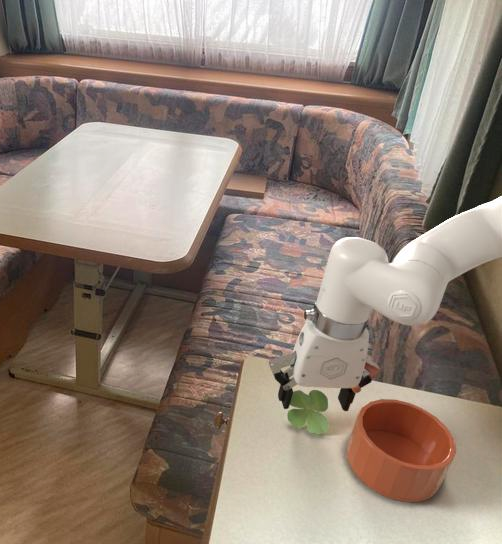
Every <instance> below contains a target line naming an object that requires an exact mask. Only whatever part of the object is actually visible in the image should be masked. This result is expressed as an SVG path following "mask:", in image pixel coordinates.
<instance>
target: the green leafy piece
mask: <svg viewBox="0 0 502 544" xmlns="http://www.w3.org/2000/svg"><path fill="white" fill-rule="evenodd" d="M290 406H291V407H293V408H291V409H289V410H288V411H287V420H288V423H290V424H291V426H292V427H293V428H295V429H302V428H304V427H305V426H306V429H307V431H308V433H310V434H316V435H321V434H324V433H326V432H327V431H328V430H329V427H330V425H329V420H328V419H327V417H326V416H325V415H324V414H323V412H324V413H325V412H326V411H327V410H328V408H329V398H328V397H327V395H326V394H325V393H324V392H322V391H321V390H318V389H312V390H310V391H309V392H308V394H307V393H305V392H304V391H302V390H300V389H298V390H297V389H296V390H293V395H292V398H291V402H290Z"/></svg>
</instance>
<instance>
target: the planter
mask: <svg viewBox="0 0 502 544" xmlns="http://www.w3.org/2000/svg"><path fill="white" fill-rule="evenodd" d="M456 453H457V446H456V442H455V438H454V436H453V434H452V433H451V431H450V430H449V428H448V427H447V426H446V425H445V424H444V423H443V422H442V421H441V420H440V418H438V417H437V416H435V415H434V414H432V413H431V412H429V411H427V410H426V409H425V408H422V407H420V406H418V405H415V404H413V403H411V402H407V401H403V400H399V399H390V398H389V399H387V398H379V399H375V400H372V401H369V402H368V403H366V404H365V405H363V406H362V407H361V408H360V410H359V412H358V414H357V416H356V419H355V422H354V425H353V428H352V431H351V433H350V436H349V440H348V442H347V447H346V459H347V462H348V464H349V466H350V468H351V470H352V471H353V473H354V474H355V475H356V477H357V478H358V479H359V480H360V481H361V482H362V483H363V484H364V485H366V486H367V487H368V488H370V489H371V490H372V491H374V492H375V493H378V494H380V495H381V496H384V497H386V498H388V499H391V500H395V501H399V502H402V503H403V502H404V503H418V502H423V501H426V500H428V499H430V498H431V497H433V496H435V494H436V493H437V492H438V490H439V489H440V488H441V485H442V484H443V481H444V479H445V477H446V475H447V474H448V471H449V469H450V467H451V466H452V463H453V461H454V459H455V456H456Z"/></svg>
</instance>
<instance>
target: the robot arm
mask: <svg viewBox="0 0 502 544" xmlns="http://www.w3.org/2000/svg"><path fill="white" fill-rule="evenodd" d="M501 258H502V195H501V196H499V197H498V198H496V199H493V200H492V201H489V202H486V203H482V204H481V205H478V206H476V207H473V208H471V209H469V210H466V211H463V212H461V213H460V214H457V215H454V216H453V217H451V218H449V219H447V220H445V221H444V222H442V223H440V224H439V225H436V226H435V227H434V228H432V229H430V230H428V231H427V232H424V234H422V235H420V236H419V237H417V238H416V239H414V240H412V241H411V242H409V243H408V244H406V245H405V246H404V247H403V248H402V249H400V251H398V252H397V254H396V255H395V257H394V258H393V259H392V261H391V262H389V259H388V254H387V252H386V250H385V249H384V248H383V247H382V246H381V245H380V244H378V243H376V242H375V241H372V240H369V239H366V238H361V237H355V236H354V237H353V236H352V237H343V238H341V239H339V240H337V241H336V242H334V244H333V245H332V247H331V249H330V252H329V255H328V260H327V263H326V265H325V270H324V273H323V277H322V280H321V284H320V288H319V291H318V295H317V298H316V302H315V303H314V304H313V307H312V309H309V310H304V313H303V319H304V320H305V322H304V325H303V326H302V328H301V330H300V332H299V335H298V337H297V339H296V341H295V344H294V347H293V350H292V352H290V353H286V354H284V355H281V356H278V357H274V358H271V359H270V360H268V365H269V367H270V370H271V372H272V375H273V378H274V380H275V381H276V382H277V383H278V384H279V387H278V388H279V389H278V393H277V398H278V401H279V402H281V404H282V407H283V409H284V410H288V409H289V408H290V406H291V405H290V402H291V398H292V395H293V392H294V389H293V388H294V387H296V386H297V385H298V386H301V387H306V388H321V389H322V388H327V389H339V392H338V396H337V400H338V402H339V404H340V407H341V410H342V411H344V412H349V411H350V410H349V409H350V407H351V405H352V404H353V403H354V400H355V398H356V394H358V393H360V392H361V391H362V388H365V387H366V386H368V385H370V384H371V383H372V381H373V379H375V378H376V377H377V376H378V375H379V374H381V372H382V369H381V367H380V365H379V364H378V363H377V362H375V361H373V360H371V359H369V358H368V352H369V345H370V332H369V330H368V329H367V325H368V322H369V319H370V317H371V314H372V311H376V312H377V313H378V314H380V315H382V316H384V317H385V318H387V319H389V320H391V321H393V322H395V323H398V324H400V325H404V326H409V327H416V326H422V325H424V324H426V323H429V322H430V321H431V320H432V319H433V318H434V317H435V316H436V314H437V312H438V311H439V308H440V305H441V303H442V301H443V297H444V294H445V292H446V289H447V286H448V284H449V282H451V281H452V280H454V279H456V278H457V277H460V276H461V275H463V274H465V273H466V272H468V271H471V270H473V269H475V268H477V267H479V266H481V265H484V264H486V263H488V262H490V261H494V260H497V259H501ZM289 366H290V367H289ZM286 367H289V368H287V369H286V370H284V371H282V369H283V368H286Z"/></svg>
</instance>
